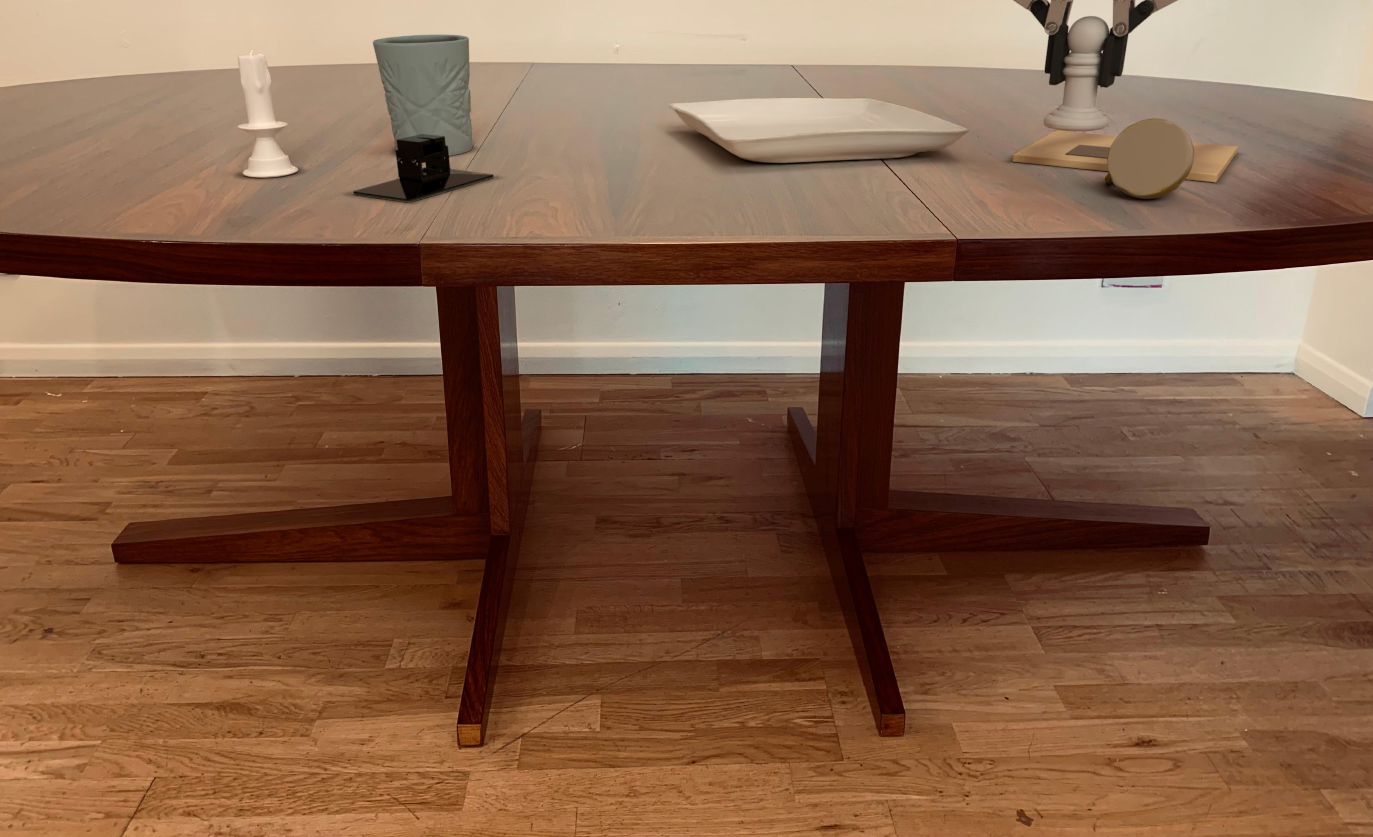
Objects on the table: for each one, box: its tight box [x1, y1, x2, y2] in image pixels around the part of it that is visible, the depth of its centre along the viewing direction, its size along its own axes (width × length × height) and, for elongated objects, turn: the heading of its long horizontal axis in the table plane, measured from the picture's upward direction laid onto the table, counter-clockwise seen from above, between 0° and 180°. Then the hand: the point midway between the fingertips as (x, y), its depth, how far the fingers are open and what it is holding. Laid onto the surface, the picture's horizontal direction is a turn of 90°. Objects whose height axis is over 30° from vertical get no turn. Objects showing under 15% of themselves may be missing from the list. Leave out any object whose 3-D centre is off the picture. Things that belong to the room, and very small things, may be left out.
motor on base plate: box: [352, 134, 495, 203], centre depth 97 cm, size 12×7×5 cm, turn 152°
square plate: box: [668, 97, 970, 164], centre depth 117 cm, size 27×27×4 cm
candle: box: [237, 48, 299, 179], centre depth 101 cm, size 5×5×12 cm
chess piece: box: [1042, 15, 1110, 132], centre depth 86 cm, size 5×5×9 cm
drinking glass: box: [372, 34, 474, 157], centre depth 113 cm, size 10×10×12 cm
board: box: [1011, 130, 1239, 183], centre depth 111 cm, size 20×18×1 cm
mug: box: [1104, 117, 1194, 200], centre depth 94 cm, size 8×10×10 cm
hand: (1081, 82), depth 86 cm, fingers closed on chess piece, 3 cm apart
